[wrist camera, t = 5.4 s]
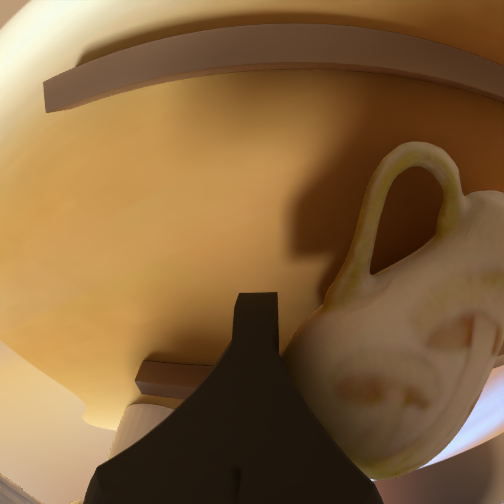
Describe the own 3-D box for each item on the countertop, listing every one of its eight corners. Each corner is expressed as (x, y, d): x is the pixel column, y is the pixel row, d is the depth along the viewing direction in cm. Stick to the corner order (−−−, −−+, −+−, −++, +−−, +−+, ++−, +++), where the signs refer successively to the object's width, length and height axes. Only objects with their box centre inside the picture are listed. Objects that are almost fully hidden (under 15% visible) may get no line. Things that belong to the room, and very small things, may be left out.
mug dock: (544, 332, 13) (553, 344, 11) (149, 373, 15) (141, 393, 14) (599, 132, 5) (614, 138, 4) (67, 81, 8) (43, 82, 7)
